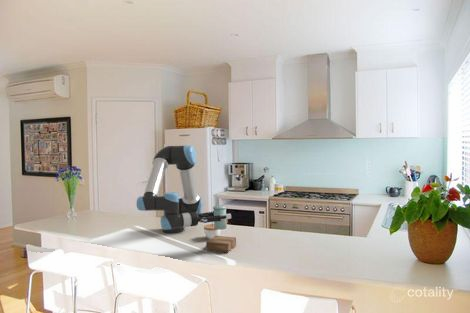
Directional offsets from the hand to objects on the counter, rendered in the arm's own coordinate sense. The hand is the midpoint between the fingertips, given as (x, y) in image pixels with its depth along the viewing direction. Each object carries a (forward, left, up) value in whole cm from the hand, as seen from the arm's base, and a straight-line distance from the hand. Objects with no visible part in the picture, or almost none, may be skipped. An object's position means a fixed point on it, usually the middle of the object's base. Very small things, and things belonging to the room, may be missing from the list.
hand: (228, 214), depth 199 cm
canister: (+3, -4, -7) cm, 9 cm away
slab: (+3, -3, -19) cm, 20 cm away
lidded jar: (-14, -16, -19) cm, 29 cm away
